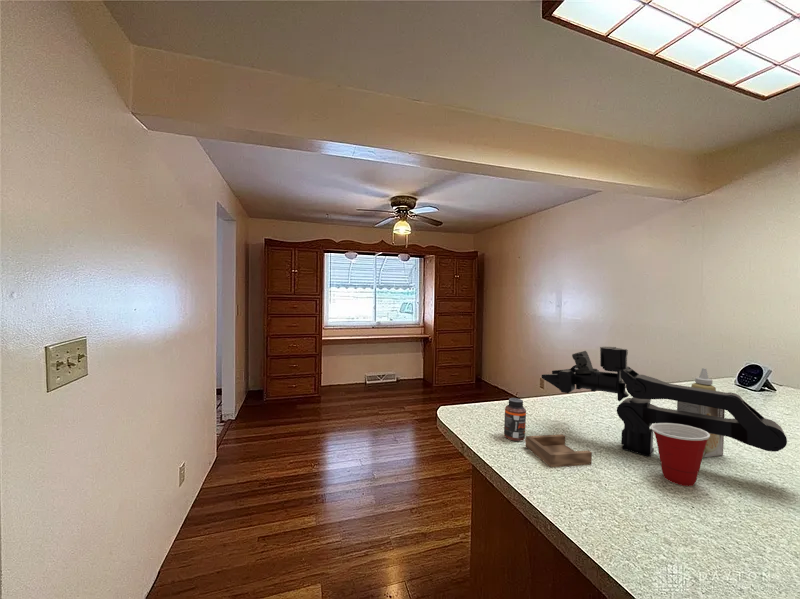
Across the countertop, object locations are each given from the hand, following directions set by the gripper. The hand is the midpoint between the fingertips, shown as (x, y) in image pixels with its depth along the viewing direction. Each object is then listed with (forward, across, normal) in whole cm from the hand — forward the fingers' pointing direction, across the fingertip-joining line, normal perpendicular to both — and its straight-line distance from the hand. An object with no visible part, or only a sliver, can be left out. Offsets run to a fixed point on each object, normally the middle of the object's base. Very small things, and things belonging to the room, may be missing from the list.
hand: (547, 374), depth 113 cm
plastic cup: (-34, +12, +18) cm, 41 cm away
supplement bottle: (+3, +18, +17) cm, 25 cm away
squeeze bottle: (-36, -50, +18) cm, 64 cm away
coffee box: (-37, -12, +18) cm, 43 cm away
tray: (-10, +20, +17) cm, 28 cm away
